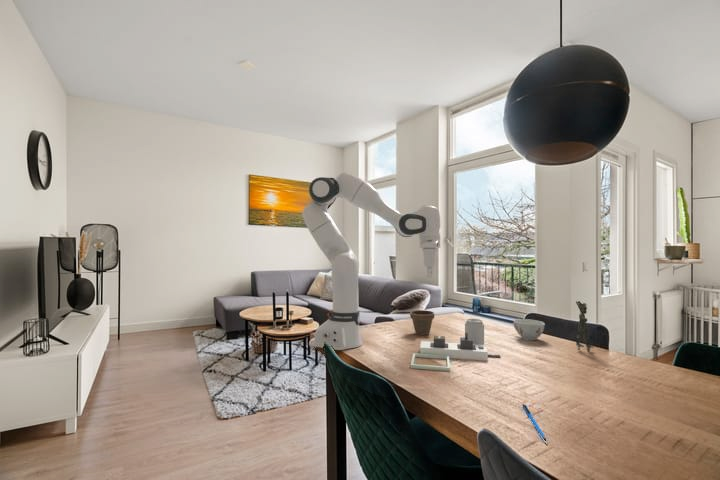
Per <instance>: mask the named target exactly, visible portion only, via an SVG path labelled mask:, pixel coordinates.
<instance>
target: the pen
mask: <svg viewBox="0 0 720 480" xmlns="http://www.w3.org/2000/svg"><path fill="white" fill-rule="evenodd" d="M522 408H523V410H524V409H525V410H524V411H526V412H527V413H526V412H525V413H526V415H527V414H528V415H527V416H529V417H530V419H531V420H530V419H529V420H530V422H531V421H532V422H533V424H534V425H535V426H536V428H537V430H538V432H539V433H540V435H541V436H542V438H543V439H544V440H545V441H546V439H547V438H546V437H545V435H544V433H543V431H542V429H541V428H540V426H539V425H538V422H537V421H536V419H535V418H534V416H533V415H532V414H531V411H530V410H529V408H528V406H527V405H526V404H523V403H522ZM529 417H528V418H529ZM532 422H531V423H532ZM533 424H532V425H533ZM534 425H533V426H534ZM537 430H536V431H537ZM538 432H537V433H538ZM540 435H539V436H540Z"/></svg>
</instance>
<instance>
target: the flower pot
mask: <svg viewBox="0 0 720 480" xmlns="http://www.w3.org/2000/svg"><path fill="white" fill-rule="evenodd" d="M409 317H410V319H411V320H412V324H413V328H414V331H415V334H417V335H420V336H425V335H426V336H427V335H430V333H431V328H432V323H433V319H435V312H434V311H431V310H426V309H423V310H422V309H421V310H420V309H418V310H413V311H410V312H409Z"/></svg>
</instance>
